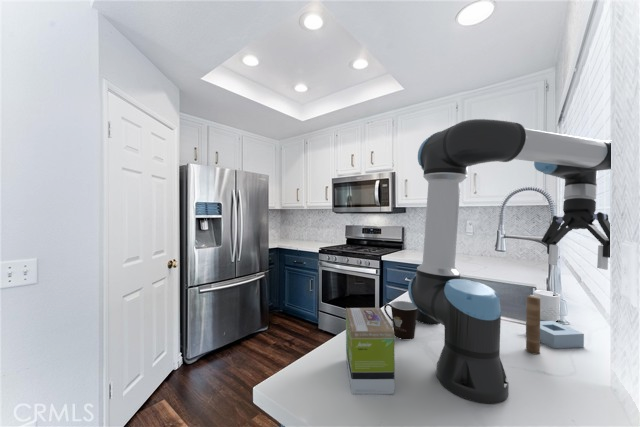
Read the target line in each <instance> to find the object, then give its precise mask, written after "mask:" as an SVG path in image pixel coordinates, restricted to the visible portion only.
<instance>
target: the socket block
mask: <svg viewBox="0 0 640 427" xmlns="http://www.w3.org/2000/svg"><path fill="white" fill-rule="evenodd" d="M584 341H585V334H584V333H583V332H580V331H578V330H575V329H573V328H571V327H568V326H566V325H564V324H561V323H558V322H555V321H543V320H540V343H543V344H545V345H547V346H548V347H551V348H552V349H564V348H565V349H567V348H568V349H570V348H584V347H585V346H584V345H585V342H584Z"/></svg>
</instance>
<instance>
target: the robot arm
mask: <svg viewBox="0 0 640 427" xmlns="http://www.w3.org/2000/svg"><path fill="white" fill-rule="evenodd" d="M610 141H611V140H601V139H593V138H588V137H583V136H582V137H581V136H573V135H570V134H569V135H568V134H561V133H555V132H548V131H543V130H542V131H541V130H535V129H531V128H530V129H529V128H525V126H524V125H523V124H521V123H519V122H515V121H514V122H513V121H508V120H499V119H485V118H479V119H478V118H477V119H473V118H472V119H467V120H463V121H461V122H458V123H455V124H454V125H451V126H450V127H447V128H445V129H443V130H441V131H437V132H435V133H433V134H432V135H430V136H429V137H427V138H425V140H423V141H422V143H421V145H420V146H419V149H418V152H417V162H418V165H419V166H421V167H420V168H421V170H422V171H423V178H424V180H426V181H427V182H428V183H427V185H428V186H427V197H426V210H425V211H426V213H425V227H424V238H423V239H424V240H423V252H422V253H423V255H422V263H420V265H418V266H417V267H416V273H415V274H414V275H413V276H412V277H411V278H410V280H409V282H408V286H407V293H408V298H409V300H410V302H411V303H413V305H414V306H415V307H417V308H418V309H419V310H420V311H421V312H422V313H424V314H426V315H428V316H430V317H431V318H433V319H434V320H436V321H437V322H439V323H440V324H441V326H444V339H443V340H444V343H443V347H442V350H441V351H440V356H439V358H438V360H437V363H436V378H437V381H439V383H440V384H441V385H442V386H443V387H444V388H445V389H447V390H448V391H449V392H451V393H453V394H454V395H456V396H458V397H461V398H463V399H466V400H469V401H471V402H472V401H473V402H477V403H480V404H481V403H483V404H496V403H502V402H504V401H506V400H507V398H508V397H509V393H510V392H509V391H510V390H509V389H510V388H509V381H508V377H507V374H506V371H505V368H504V366H503V362H502V360H501V353H500V352H501V348H500V347H501V323H502V322H501V318H502V317H501V316H502V308H501V301H500V299H501V298H500V296H499V294H498V292H497V291H496V290H495V289H493V288H492V287H490V286H488V285H486V284H484V283H481V282H479V281H472V280H470V279H464V278H461V273H460V271H459V270H458V269H457V268H456V252H457V240H458V239H457V238H458V225H459V212H460V211H459V209H460V200H461V199H460V198H461V197H460V196H461V186H462V185H461V184H462V183H463V181H464V180H466V179H467V178H468V171H469V170H468V168H469V167H471V166H475V165H479V164H486V163H491V162H492V163H494V162H500V163H508V162H511V161H513V160H517V161H527V162H533V166H534V169H536V171H538V172H540V173H543V174H544V175H550V176H552V177H555V178H560V179H562V180H564V190H563V191H564V192H563V199H564V201H563V205H562V208H563V209H562V211H563V216H559V215H558V216H557V215H553V216H552V220H551V224H550V225H549V227H548V228H547V230H546V232H545V233H544V235H543V236H542V238H541V243H544V244H546V245H547V249H546V254H547V255H548V262H547V264H548V265H551V266H558V258H559V257H558V256H559V245H557V244H558V243H559V242H560V241H561V240H562V239H563V238H564V237H565V236H566V235H567V234H568V233H569V232H571V231H573V230H588V232H589V233H590V234H591V235H592V236H593V237H594V238H595V239H597V240H598V242H599V243H600V244H599V245H597V246H598V247H597V262H596V263H597V265H596V266H597V269H601V270H608V269H609V258H610V224H611V223H610V221H609V215H608V213H604V212H601V211H598V212H597V213H596V209H597V201H596V199H597V188H598V187H597V183H598V182H597V180H598V172H600V171H606V170H612V169H611V143H610ZM595 221H597V222H598V224H599V226H600V227H601V230H602V231H603V232H602V231H601V230H599V228H598V227H597V226H596V224H594V223H593V222H595Z"/></svg>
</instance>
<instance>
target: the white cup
mask: <svg viewBox="0 0 640 427" xmlns="http://www.w3.org/2000/svg"><path fill="white" fill-rule="evenodd" d="M553 292H554V291H550V290H542V289H540V290H539V289H538V290H534V291H533V294H534V295H533V296H536V297H539V298H540V321H555V322H556V321H557V320H558V321H559V317H558V315H560V310H559V301H560V302H561V297H562V296H561V294H560V293H557V292H555V293H556V294H558V296H553Z"/></svg>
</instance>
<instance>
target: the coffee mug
mask: <svg viewBox="0 0 640 427" xmlns="http://www.w3.org/2000/svg"><path fill="white" fill-rule="evenodd" d="M388 306H389V307H390V308H391V316H390V314H389V313H388V311H387V307H388ZM383 309H384V311H383V312H384V313H385V314H386V316H387V317H388V318H389V320H390V321H391V322H392V329H393V330H394V337H395V336H396V337H395V338H397V337H398V338H397V339H399V338H401V339H400V340H403V339H411V340H413V339H414V338H415V333H416V324H417V320H416V319H417V311H418V308H417V307H415V306H414V305H413V303H412V302H411V301H405V300H404V301H403V300H397V301H395V300H394V301H392V302H391V303H387V304H384V307H383Z"/></svg>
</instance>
